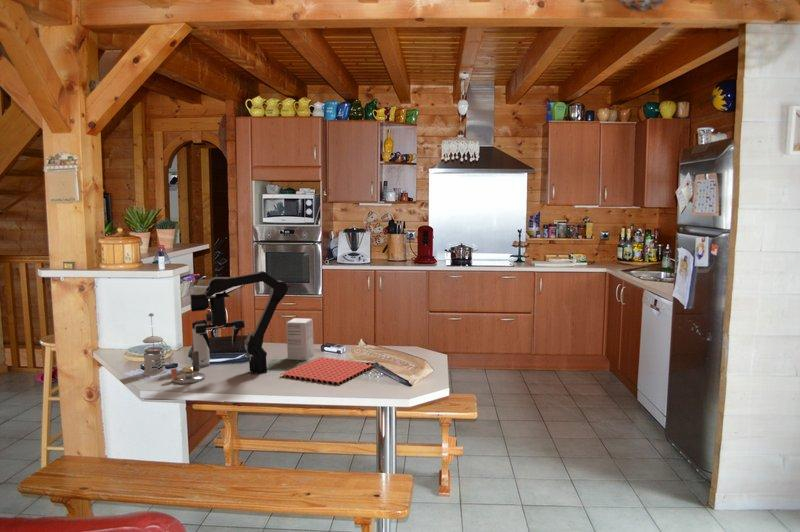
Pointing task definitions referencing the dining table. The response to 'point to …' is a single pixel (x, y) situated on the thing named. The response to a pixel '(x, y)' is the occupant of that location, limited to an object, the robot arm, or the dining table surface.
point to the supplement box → (300, 339)
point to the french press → (156, 356)
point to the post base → (191, 380)
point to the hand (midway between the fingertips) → (221, 347)
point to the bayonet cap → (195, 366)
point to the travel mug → (201, 345)
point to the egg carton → (327, 370)
